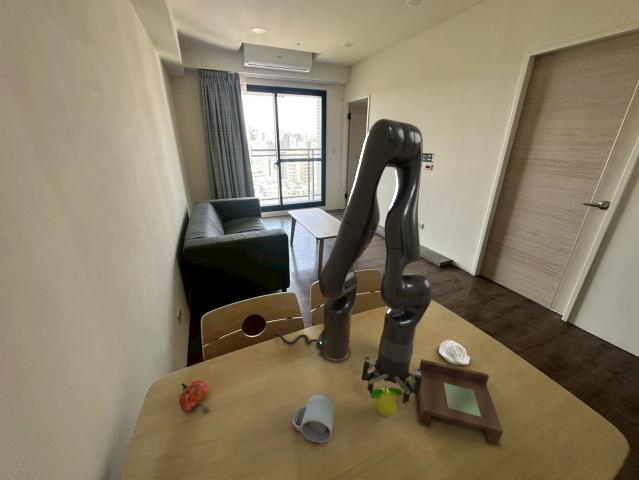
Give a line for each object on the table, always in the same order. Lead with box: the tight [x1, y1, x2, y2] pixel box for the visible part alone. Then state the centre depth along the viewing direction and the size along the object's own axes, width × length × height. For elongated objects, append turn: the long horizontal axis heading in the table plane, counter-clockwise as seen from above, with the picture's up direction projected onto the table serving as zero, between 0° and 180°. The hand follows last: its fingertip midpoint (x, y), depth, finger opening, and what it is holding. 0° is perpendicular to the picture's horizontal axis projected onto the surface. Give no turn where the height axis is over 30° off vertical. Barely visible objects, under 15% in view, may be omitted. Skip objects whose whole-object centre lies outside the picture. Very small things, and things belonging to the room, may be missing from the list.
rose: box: [438, 339, 471, 366], centre depth 87 cm, size 10×4×10 cm
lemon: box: [369, 384, 403, 417], centre depth 67 cm, size 7×6×10 cm
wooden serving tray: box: [417, 358, 504, 445], centre depth 69 cm, size 18×14×8 cm
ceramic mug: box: [291, 393, 335, 444], centre depth 64 cm, size 11×8×8 cm
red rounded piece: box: [178, 380, 210, 412], centre depth 69 cm, size 7×7×10 cm
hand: (387, 395), depth 66 cm, fingers closed on lemon, 8 cm apart
